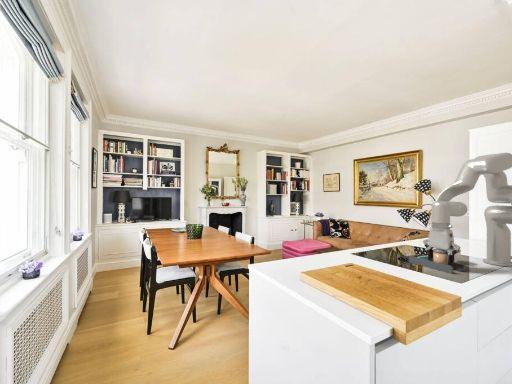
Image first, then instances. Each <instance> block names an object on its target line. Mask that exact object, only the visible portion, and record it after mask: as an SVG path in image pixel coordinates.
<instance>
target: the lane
mask: <svg viewBox="0 0 512 384" xmlns="http://www.w3.org/2000/svg"><path fill="white" fill-rule="evenodd" d="M420 256H426V255H425V254H419V253H417V254H411V255H408V256H407V262H408V263H411V264H414V265H417V264H418V266H421V267H426V268H429V269H432V270H436V271H439V272H443V273H447V274H451V275H452V274H454V270H455V271H458V272H463V273H465V264H463V263H459V262H453V263H449V262H448V265H446V264H442V263H438V262H434V261H433V258H429V260H425V259H421V258H417V257H420Z"/></svg>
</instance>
